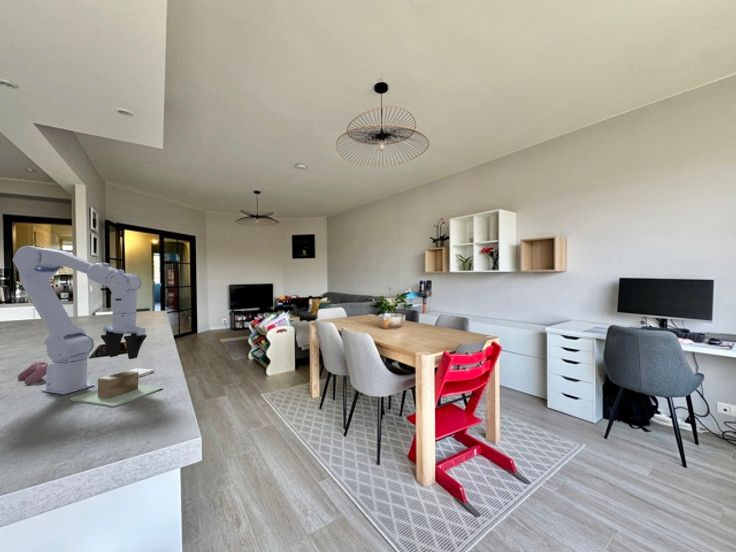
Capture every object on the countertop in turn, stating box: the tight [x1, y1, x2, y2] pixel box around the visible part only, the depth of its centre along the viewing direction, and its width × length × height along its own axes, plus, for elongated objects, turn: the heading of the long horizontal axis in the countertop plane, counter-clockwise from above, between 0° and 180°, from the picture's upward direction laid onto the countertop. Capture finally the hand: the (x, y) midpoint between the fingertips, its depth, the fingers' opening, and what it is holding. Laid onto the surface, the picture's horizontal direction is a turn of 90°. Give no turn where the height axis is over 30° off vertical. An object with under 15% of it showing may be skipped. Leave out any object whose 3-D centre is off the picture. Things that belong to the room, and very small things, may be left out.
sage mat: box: [70, 383, 163, 408], centre depth 89 cm, size 16×14×1 cm
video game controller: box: [17, 360, 49, 386], centre depth 101 cm, size 10×5×7 cm, turn 58°
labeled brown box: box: [97, 370, 139, 399], centre depth 89 cm, size 8×4×5 cm, turn 165°
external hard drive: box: [128, 367, 155, 378], centre depth 106 cm, size 2×8×12 cm
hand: (123, 357), depth 94 cm, fingers open, 7 cm apart
